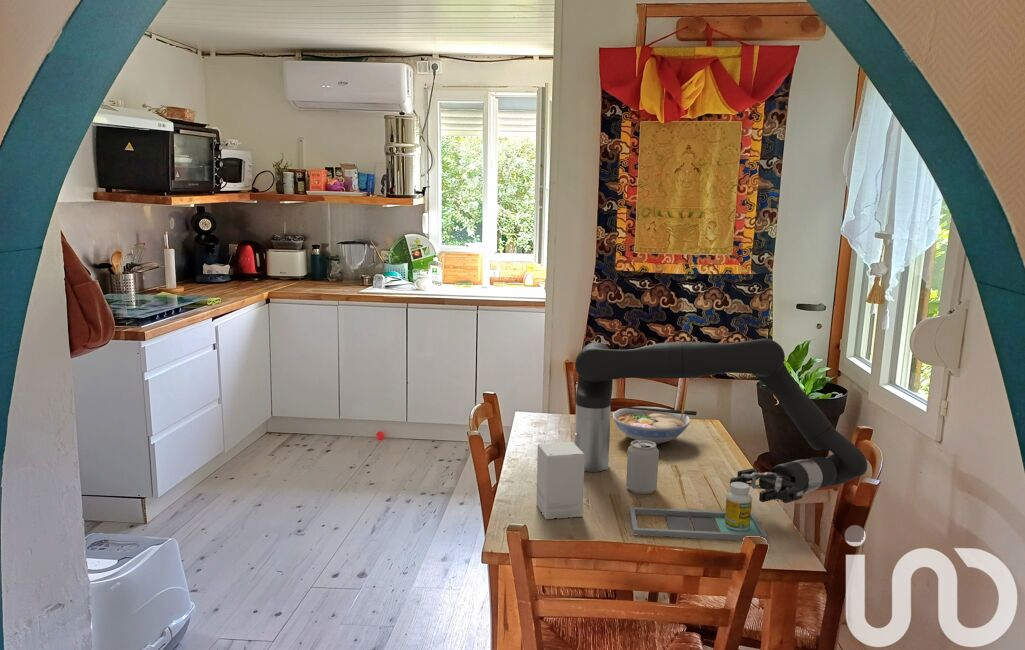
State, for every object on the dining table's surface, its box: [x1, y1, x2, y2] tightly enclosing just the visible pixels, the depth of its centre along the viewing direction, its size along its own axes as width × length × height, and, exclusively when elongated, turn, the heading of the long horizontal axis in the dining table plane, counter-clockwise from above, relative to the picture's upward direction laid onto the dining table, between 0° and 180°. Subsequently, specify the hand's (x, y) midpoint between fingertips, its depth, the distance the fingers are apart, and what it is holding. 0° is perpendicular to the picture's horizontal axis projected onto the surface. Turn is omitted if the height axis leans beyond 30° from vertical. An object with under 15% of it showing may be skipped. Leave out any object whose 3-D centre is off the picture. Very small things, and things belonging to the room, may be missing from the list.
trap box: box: [628, 506, 769, 541], centre depth 166 cm, size 28×12×1 cm, turn 86°
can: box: [625, 439, 660, 495], centre depth 185 cm, size 8×8×12 cm
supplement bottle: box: [725, 482, 753, 531], centre depth 164 cm, size 5×5×10 cm
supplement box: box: [536, 441, 585, 520], centre depth 172 cm, size 9×9×15 cm
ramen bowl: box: [612, 405, 697, 445], centre depth 223 cm, size 25×23×8 cm
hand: (745, 490), depth 164 cm, fingers open, 8 cm apart
